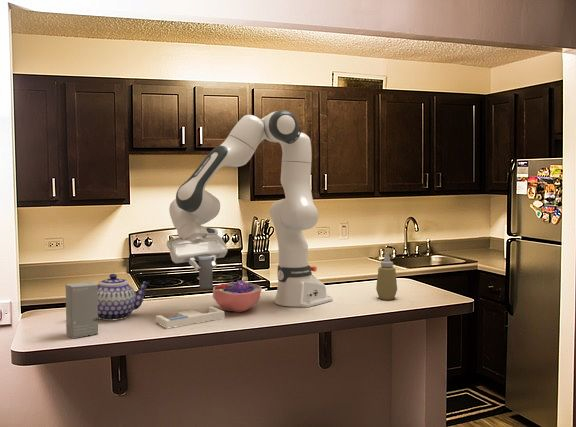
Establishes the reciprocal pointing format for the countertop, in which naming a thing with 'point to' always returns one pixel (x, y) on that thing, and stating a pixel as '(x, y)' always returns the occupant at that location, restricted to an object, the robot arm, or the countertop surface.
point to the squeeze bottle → (386, 279)
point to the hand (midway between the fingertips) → (206, 268)
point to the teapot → (118, 298)
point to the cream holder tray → (190, 317)
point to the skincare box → (81, 309)
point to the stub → (205, 271)
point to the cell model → (237, 295)
